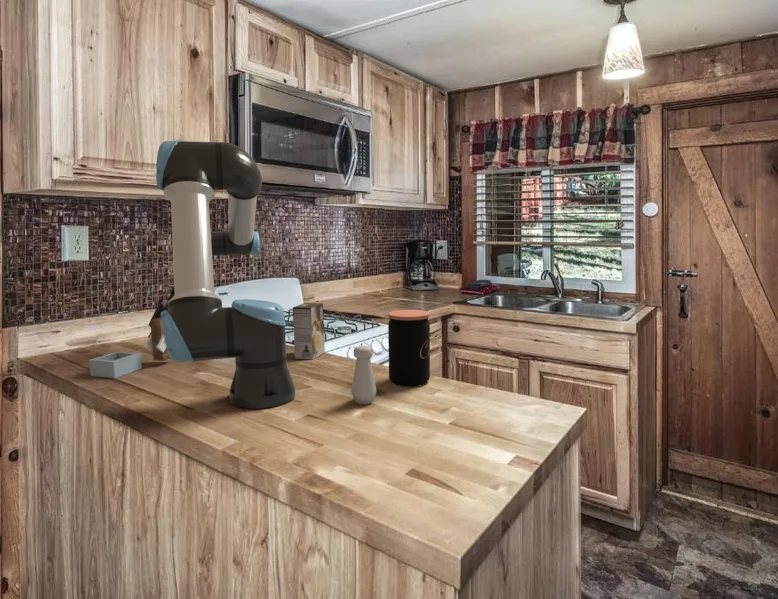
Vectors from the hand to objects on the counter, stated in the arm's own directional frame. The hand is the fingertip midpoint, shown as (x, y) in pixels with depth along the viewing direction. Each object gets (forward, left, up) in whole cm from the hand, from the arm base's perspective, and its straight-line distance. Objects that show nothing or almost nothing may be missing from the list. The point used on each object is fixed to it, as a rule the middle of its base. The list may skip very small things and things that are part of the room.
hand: (154, 349), depth 153 cm
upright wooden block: (0, -4, -4) cm, 5 cm away
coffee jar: (-75, -6, -6) cm, 75 cm away
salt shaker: (-69, +12, -6) cm, 70 cm away
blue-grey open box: (+7, +7, -5) cm, 11 cm away
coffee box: (-38, -24, -6) cm, 45 cm away
